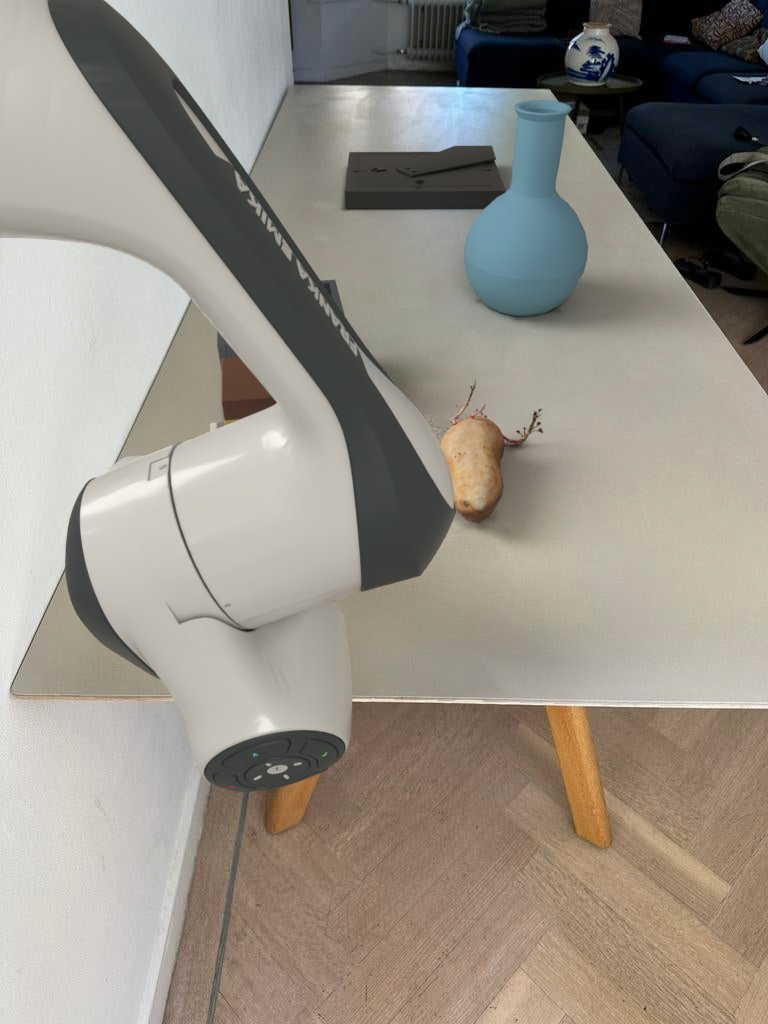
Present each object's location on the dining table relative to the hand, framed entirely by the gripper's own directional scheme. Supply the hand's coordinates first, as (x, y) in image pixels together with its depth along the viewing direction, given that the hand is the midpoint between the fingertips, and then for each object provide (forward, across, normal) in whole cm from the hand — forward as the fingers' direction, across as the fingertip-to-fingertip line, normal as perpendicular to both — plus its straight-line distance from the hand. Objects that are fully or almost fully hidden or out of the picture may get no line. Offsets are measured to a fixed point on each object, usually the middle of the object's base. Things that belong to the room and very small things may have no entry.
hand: (255, 426), depth 59 cm
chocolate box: (-1, 0, +6) cm, 6 cm away
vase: (+47, -37, +14) cm, 62 cm away
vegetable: (+7, -22, +15) cm, 28 cm away
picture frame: (+97, -33, +15) cm, 103 cm away
